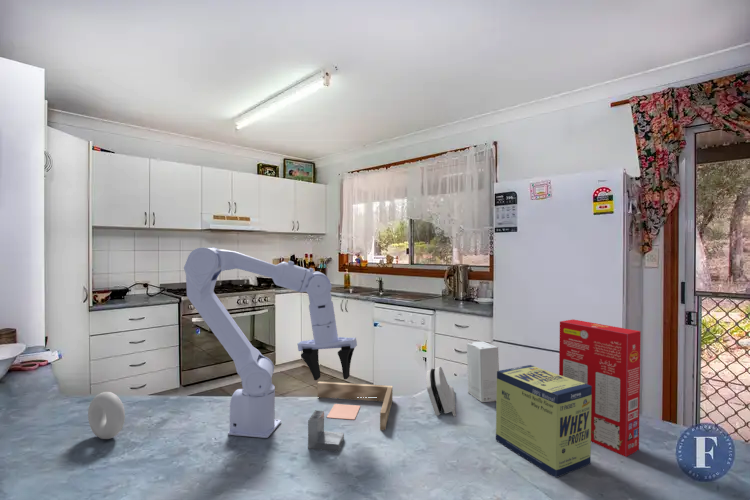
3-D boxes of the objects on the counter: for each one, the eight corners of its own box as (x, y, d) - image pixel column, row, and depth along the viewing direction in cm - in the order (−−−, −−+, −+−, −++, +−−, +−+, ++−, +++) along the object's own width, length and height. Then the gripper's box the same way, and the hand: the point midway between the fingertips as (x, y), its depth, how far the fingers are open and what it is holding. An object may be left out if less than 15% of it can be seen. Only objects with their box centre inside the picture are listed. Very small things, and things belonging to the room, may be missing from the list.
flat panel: (326, 417, 94) (326, 417, 94) (334, 404, 102) (334, 403, 102) (354, 419, 93) (354, 419, 93) (360, 406, 101) (360, 405, 101)
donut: (128, 439, 83) (128, 393, 83) (112, 446, 80) (112, 399, 79) (101, 429, 87) (101, 386, 87) (84, 436, 84) (84, 391, 84)
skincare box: (500, 401, 104) (500, 347, 104) (480, 403, 103) (481, 348, 103) (484, 390, 113) (484, 340, 112) (465, 392, 111) (466, 341, 111)
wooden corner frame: (297, 423, 91) (297, 406, 90) (318, 395, 108) (318, 381, 108) (385, 430, 88) (385, 412, 88) (392, 400, 105) (392, 385, 105)
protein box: (557, 479, 70) (558, 394, 69) (494, 440, 83) (495, 369, 83) (592, 464, 74) (593, 385, 74) (527, 430, 88) (528, 363, 88)
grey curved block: (455, 417, 95) (442, 378, 95) (437, 421, 95) (424, 383, 96) (454, 391, 111) (443, 359, 112) (439, 396, 112) (427, 363, 112)
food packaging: (638, 449, 80) (640, 331, 80) (625, 456, 77) (627, 334, 77) (571, 421, 92) (572, 319, 92) (558, 426, 90) (559, 321, 90)
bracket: (308, 449, 79) (308, 420, 79) (315, 437, 84) (315, 410, 84) (338, 451, 78) (338, 422, 78) (343, 439, 83) (343, 412, 83)
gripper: (357, 316, 92) (365, 370, 93) (303, 320, 96) (311, 372, 97) (347, 323, 85) (356, 382, 86) (290, 328, 90) (298, 384, 90)
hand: (331, 378), depth 91 cm, fingers open, 7 cm apart
